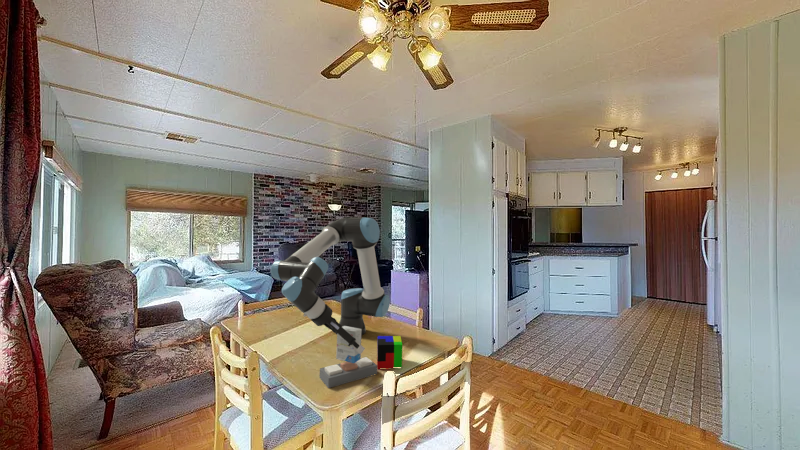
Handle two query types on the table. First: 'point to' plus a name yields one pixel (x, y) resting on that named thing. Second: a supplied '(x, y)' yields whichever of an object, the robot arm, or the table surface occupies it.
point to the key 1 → (332, 369)
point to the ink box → (347, 351)
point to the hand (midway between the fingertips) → (356, 346)
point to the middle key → (348, 366)
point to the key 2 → (364, 362)
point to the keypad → (347, 375)
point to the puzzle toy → (389, 352)
